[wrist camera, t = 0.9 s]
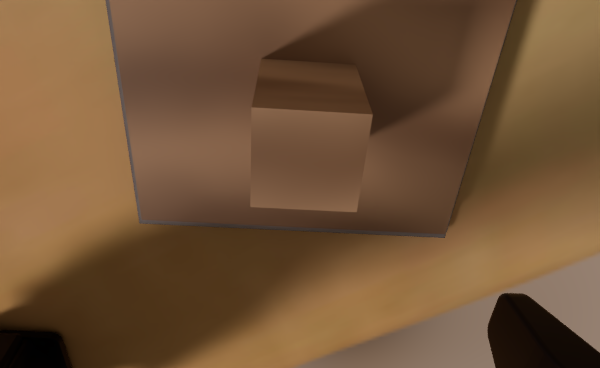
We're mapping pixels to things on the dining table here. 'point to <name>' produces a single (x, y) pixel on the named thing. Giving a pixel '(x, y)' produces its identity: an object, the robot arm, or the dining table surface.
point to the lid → (305, 108)
